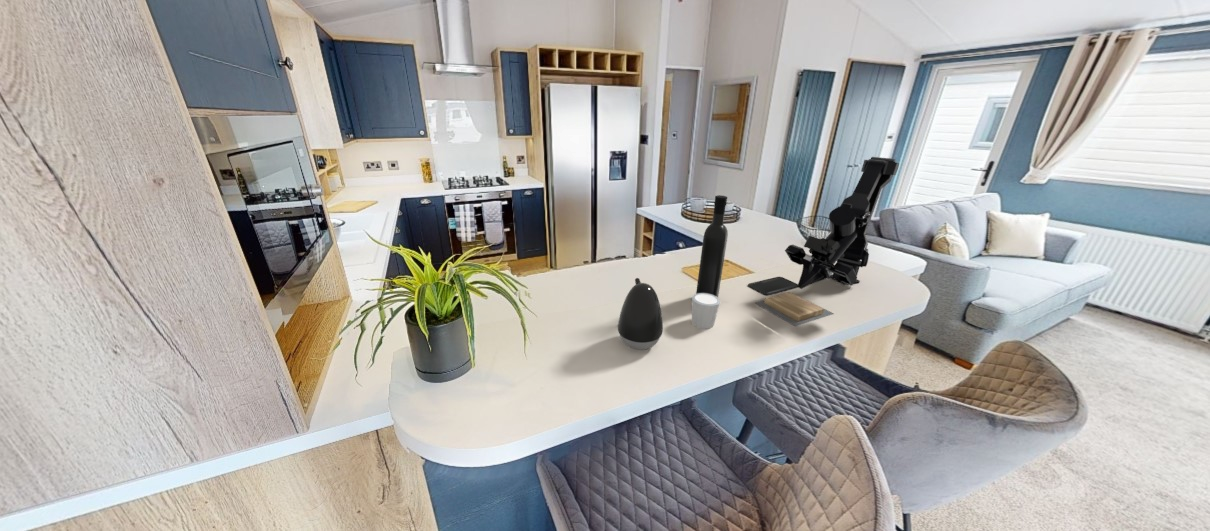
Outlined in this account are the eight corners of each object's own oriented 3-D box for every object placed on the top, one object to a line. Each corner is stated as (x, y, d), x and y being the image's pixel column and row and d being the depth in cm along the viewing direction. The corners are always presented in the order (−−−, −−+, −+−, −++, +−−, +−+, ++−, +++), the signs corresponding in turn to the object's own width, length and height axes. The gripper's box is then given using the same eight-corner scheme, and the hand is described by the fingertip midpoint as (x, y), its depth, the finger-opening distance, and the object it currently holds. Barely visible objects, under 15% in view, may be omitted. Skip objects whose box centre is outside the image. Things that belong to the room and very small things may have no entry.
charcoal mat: (791, 293, 115) (792, 293, 115) (834, 314, 104) (834, 313, 104) (754, 303, 109) (754, 302, 109) (794, 327, 98) (795, 326, 98)
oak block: (789, 292, 112) (765, 298, 108) (824, 308, 103) (798, 316, 99) (788, 296, 113) (764, 303, 109) (822, 313, 104) (797, 321, 100)
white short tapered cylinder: (683, 322, 98) (686, 298, 96) (697, 313, 103) (701, 290, 100) (708, 333, 94) (711, 308, 91) (721, 323, 99) (725, 298, 96)
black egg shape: (653, 329, 95) (658, 273, 89) (667, 354, 86) (673, 293, 80) (613, 332, 93) (615, 275, 87) (622, 358, 84) (625, 296, 78)
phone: (800, 285, 119) (766, 294, 113) (800, 288, 120) (765, 297, 113) (779, 276, 126) (746, 283, 119) (779, 279, 126) (745, 287, 120)
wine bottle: (694, 302, 109) (707, 197, 97) (698, 294, 114) (712, 193, 102) (714, 307, 107) (731, 199, 95) (718, 298, 111) (734, 195, 100)
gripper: (796, 216, 108) (760, 259, 107) (863, 236, 92) (821, 285, 92) (809, 240, 114) (775, 280, 114) (873, 262, 99) (834, 308, 98)
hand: (799, 287), depth 104 cm, fingers closed
